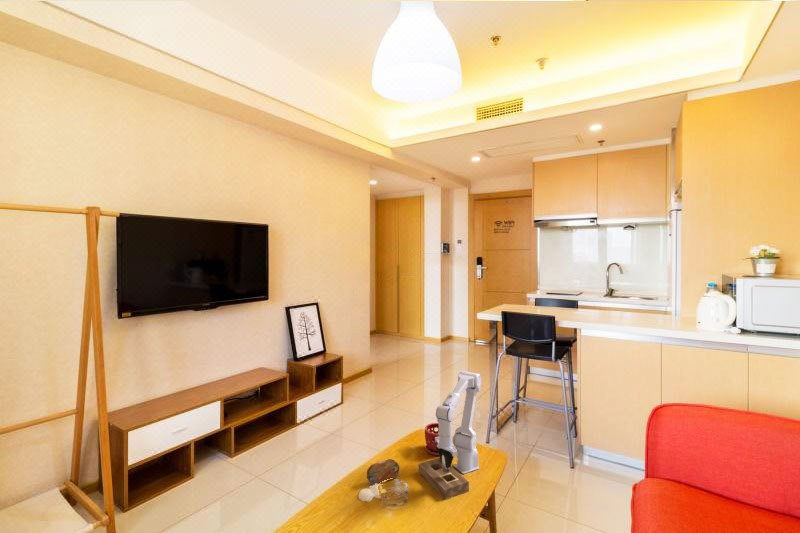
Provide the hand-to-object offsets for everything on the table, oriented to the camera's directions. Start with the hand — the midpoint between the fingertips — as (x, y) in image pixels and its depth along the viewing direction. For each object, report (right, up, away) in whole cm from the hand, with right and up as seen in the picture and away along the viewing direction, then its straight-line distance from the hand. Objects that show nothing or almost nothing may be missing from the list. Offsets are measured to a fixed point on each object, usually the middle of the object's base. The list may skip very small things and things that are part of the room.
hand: (446, 465), depth 160 cm
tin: (-27, -10, +5) cm, 30 cm away
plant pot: (0, -9, +30) cm, 31 cm away
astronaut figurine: (-31, -11, -4) cm, 33 cm away
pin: (0, -2, 0) cm, 2 cm away
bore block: (-1, -9, +4) cm, 10 cm away
